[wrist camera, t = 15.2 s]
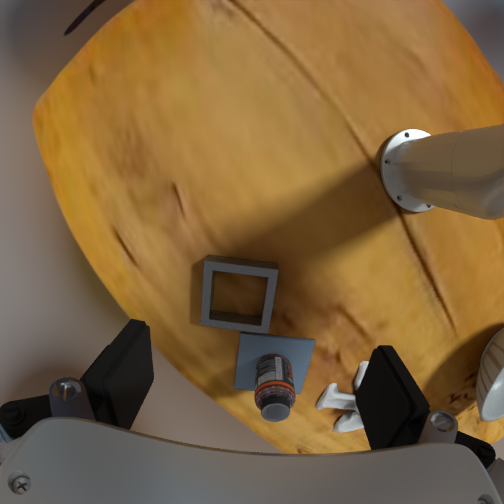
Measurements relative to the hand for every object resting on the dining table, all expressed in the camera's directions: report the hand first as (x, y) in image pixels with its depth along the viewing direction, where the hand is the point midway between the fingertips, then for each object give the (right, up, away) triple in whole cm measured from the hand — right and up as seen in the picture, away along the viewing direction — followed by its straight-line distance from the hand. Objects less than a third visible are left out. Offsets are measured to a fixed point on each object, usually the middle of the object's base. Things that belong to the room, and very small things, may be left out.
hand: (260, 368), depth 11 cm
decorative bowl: (+58, -18, +34) cm, 70 cm away
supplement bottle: (+3, -14, +35) cm, 38 cm away
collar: (-2, -1, +32) cm, 32 cm away
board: (+3, -14, +35) cm, 38 cm away
